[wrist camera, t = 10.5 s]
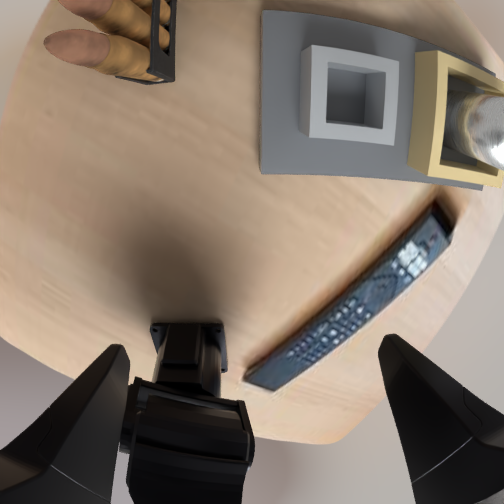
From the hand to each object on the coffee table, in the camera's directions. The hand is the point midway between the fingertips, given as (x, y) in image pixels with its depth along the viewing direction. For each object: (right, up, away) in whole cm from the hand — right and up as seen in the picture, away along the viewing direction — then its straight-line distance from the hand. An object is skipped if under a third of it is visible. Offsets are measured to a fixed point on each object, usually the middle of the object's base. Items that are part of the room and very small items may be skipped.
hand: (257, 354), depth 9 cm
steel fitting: (+14, +12, +6) cm, 19 cm away
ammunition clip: (-6, +18, +3) cm, 19 cm away
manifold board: (+9, +13, +7) cm, 17 cm away
